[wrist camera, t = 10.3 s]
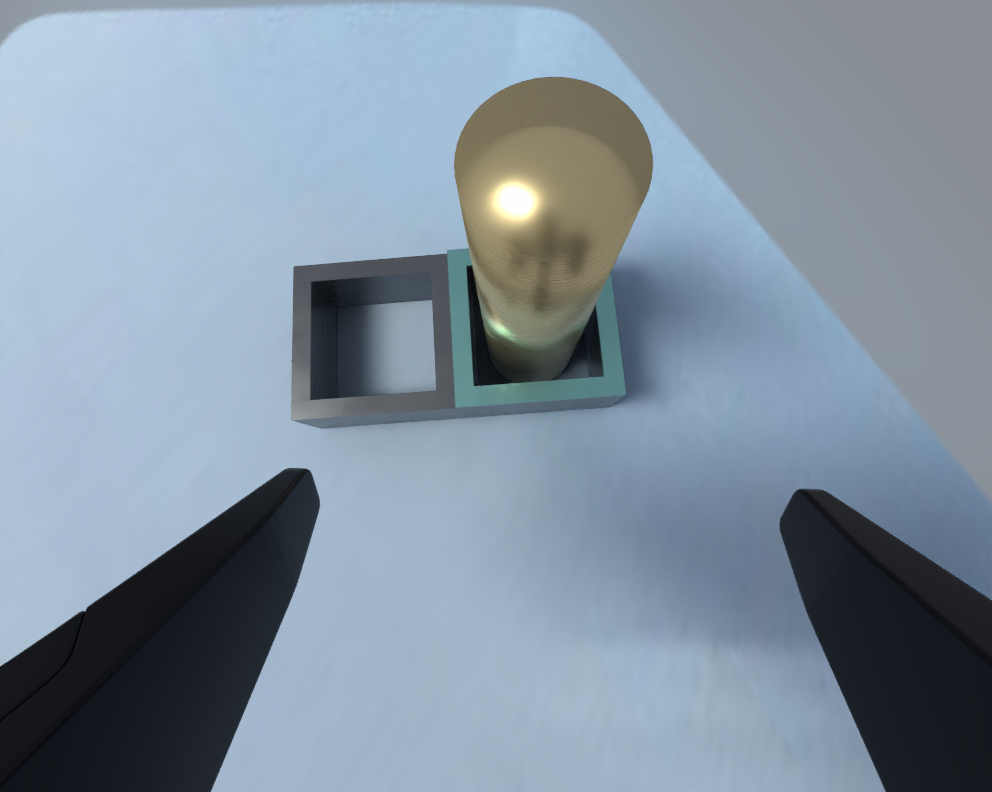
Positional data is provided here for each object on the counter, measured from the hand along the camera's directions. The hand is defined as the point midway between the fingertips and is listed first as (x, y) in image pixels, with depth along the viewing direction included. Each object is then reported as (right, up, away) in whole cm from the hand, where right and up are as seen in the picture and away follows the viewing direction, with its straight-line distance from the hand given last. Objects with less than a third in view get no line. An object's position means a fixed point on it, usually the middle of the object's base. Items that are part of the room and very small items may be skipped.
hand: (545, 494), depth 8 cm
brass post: (+1, +4, +14) cm, 15 cm away
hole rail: (-3, +4, +14) cm, 15 cm away
